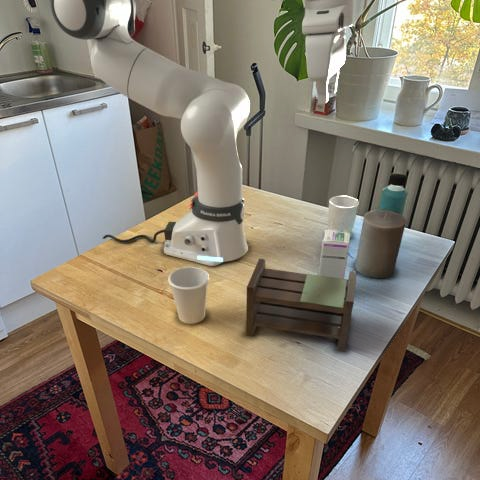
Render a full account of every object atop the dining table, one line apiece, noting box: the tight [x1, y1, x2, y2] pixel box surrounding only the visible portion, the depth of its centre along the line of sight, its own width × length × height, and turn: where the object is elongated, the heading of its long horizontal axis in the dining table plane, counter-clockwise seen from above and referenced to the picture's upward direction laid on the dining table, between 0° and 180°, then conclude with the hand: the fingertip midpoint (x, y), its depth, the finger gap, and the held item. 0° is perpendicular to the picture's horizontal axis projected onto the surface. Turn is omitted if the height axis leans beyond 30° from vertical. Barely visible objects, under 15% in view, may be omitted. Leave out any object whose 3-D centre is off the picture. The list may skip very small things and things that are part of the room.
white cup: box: [326, 195, 360, 239], centre depth 125 cm, size 8×8×10 cm
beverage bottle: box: [377, 172, 409, 216], centre depth 116 cm, size 6×7×20 cm
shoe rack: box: [245, 258, 358, 352], centre depth 91 cm, size 20×11×12 cm, turn 76°
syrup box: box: [318, 229, 351, 279], centre depth 101 cm, size 6×6×14 cm
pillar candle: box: [354, 209, 407, 279], centre depth 109 cm, size 10×10×15 cm
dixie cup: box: [167, 266, 210, 325], centre depth 95 cm, size 8×8×10 cm
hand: (327, 97), depth 93 cm, fingers open, 8 cm apart
